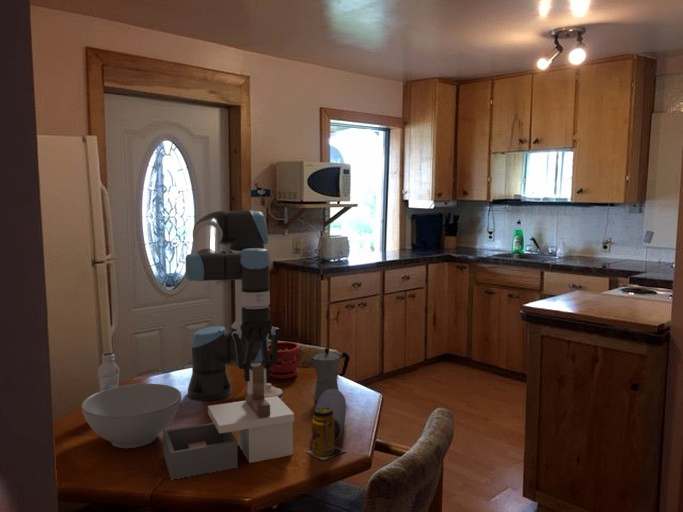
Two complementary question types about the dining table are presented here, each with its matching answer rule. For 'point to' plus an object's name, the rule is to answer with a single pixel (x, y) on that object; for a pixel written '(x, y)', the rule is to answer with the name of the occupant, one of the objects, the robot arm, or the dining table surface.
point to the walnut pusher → (258, 392)
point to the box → (198, 451)
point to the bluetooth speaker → (334, 408)
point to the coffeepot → (328, 370)
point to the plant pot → (285, 360)
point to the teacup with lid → (272, 391)
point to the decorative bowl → (131, 413)
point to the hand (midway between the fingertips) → (257, 391)
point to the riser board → (257, 428)
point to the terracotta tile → (196, 444)
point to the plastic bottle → (108, 372)
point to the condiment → (324, 434)
